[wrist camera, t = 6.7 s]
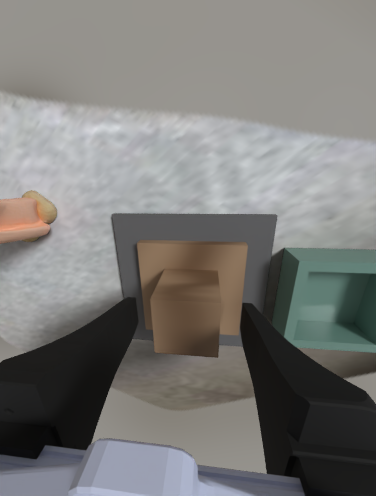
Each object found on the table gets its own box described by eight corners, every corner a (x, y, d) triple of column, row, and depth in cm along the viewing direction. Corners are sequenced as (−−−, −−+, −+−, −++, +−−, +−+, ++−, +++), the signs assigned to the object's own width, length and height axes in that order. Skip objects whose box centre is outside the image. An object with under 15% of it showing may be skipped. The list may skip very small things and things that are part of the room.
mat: (275, 214, 14) (277, 215, 13) (256, 344, 18) (257, 347, 17) (114, 213, 15) (111, 214, 14) (131, 335, 19) (129, 338, 18)
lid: (245, 242, 14) (263, 271, 10) (237, 328, 17) (248, 383, 12) (140, 239, 15) (111, 266, 10) (148, 322, 17) (128, 372, 13)
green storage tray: (385, 250, 14) (422, 264, 11) (357, 327, 16) (383, 353, 14) (284, 247, 14) (299, 261, 12) (271, 322, 17) (282, 346, 14)
